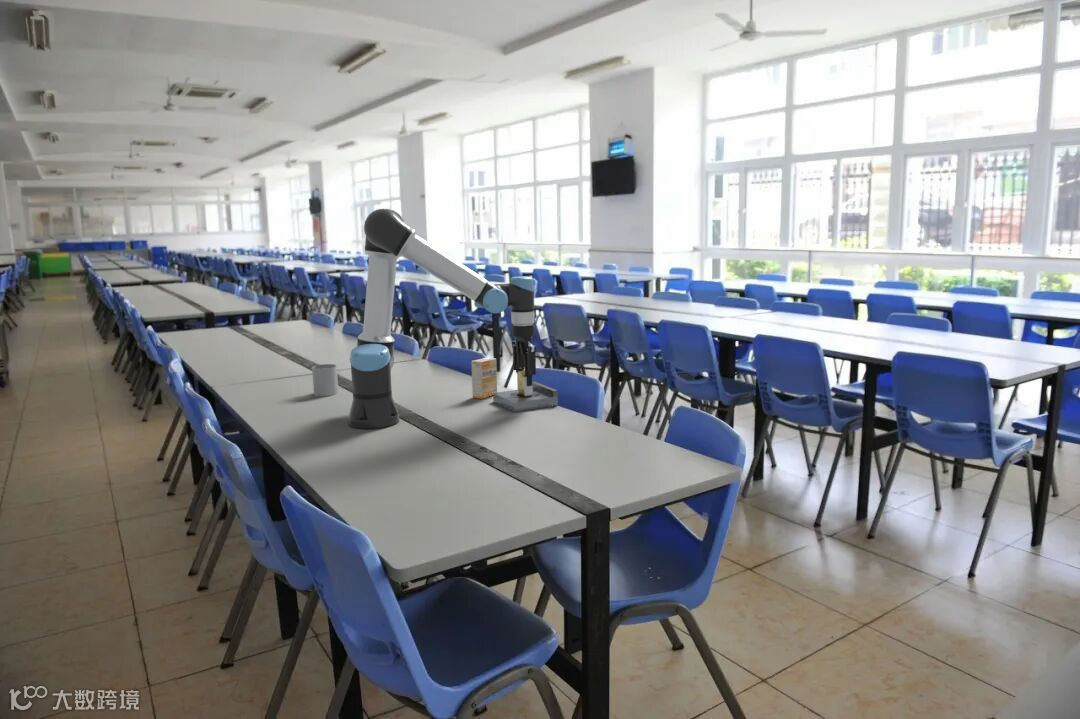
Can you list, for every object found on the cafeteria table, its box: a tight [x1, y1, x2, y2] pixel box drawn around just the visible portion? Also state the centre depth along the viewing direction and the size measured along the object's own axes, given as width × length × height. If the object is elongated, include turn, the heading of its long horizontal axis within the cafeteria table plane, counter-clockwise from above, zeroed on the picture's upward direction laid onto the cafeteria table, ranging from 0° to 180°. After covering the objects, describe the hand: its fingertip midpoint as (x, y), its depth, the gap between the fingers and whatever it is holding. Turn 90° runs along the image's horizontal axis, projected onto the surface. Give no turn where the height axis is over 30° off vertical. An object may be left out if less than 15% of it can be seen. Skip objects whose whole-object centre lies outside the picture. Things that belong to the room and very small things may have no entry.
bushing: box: [517, 370, 532, 397], centre depth 248 cm, size 4×4×11 cm
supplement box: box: [471, 357, 498, 400], centre depth 260 cm, size 8×5×13 cm, turn 143°
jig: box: [492, 381, 559, 413], centre depth 249 cm, size 16×16×5 cm
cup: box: [311, 363, 339, 397], centre depth 269 cm, size 8×8×10 cm
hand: (525, 393), depth 249 cm, fingers closed on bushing, 4 cm apart
